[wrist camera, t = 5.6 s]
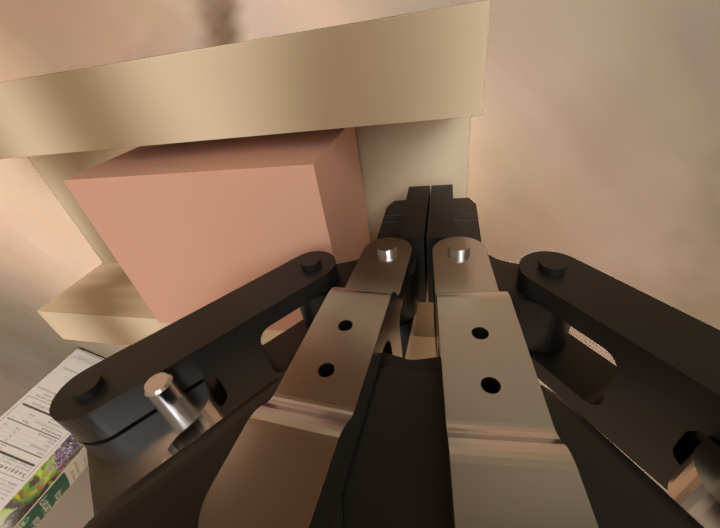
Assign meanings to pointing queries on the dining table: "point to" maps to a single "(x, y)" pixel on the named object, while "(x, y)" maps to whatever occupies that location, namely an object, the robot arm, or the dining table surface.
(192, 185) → the block
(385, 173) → the chute
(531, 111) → the dining table surface
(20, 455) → the syrup box
